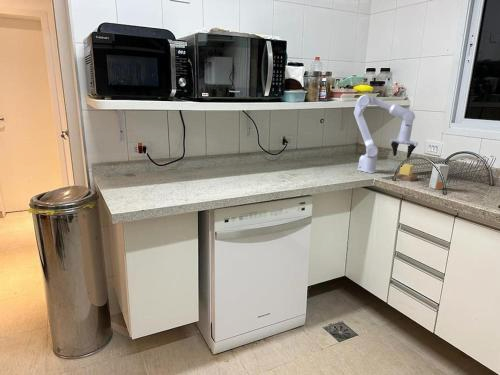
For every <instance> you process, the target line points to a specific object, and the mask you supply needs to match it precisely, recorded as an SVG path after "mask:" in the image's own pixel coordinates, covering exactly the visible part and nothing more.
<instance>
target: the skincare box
mask: <svg viewBox="0 0 500 375" xmlns="http://www.w3.org/2000/svg"><path fill="white" fill-rule="evenodd" d="M434 164H435V165H436V166H437V167H438V169H439V170H440V171H441V172H442V174H443V177H444V179H445V182H446V183H447V179H448V175H449V171H450V165H448V164H445V163H434ZM428 184H429V185H428V187H429V188H431V189H433V190H443V189H442V180H441V177H440V174H439V172H438V171H437V170H436V168H435V167H434V166H432V172H431V175H430V179H429V183H428Z"/></svg>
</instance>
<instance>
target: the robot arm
mask: <svg viewBox="0 0 500 375" xmlns="http://www.w3.org/2000/svg"><path fill="white" fill-rule="evenodd" d="M368 105H370V106H378V107H380V108H382V109H385V110H387V111H388V112H389V113H388V114H390V115H392V116H394V117H397V118H399V119H401V120H402V121H401V125H400V130H399V136H398V139H397V138H390V140H389V141H390V146H391V148H392V154H393V156H394V157H396V156H397V154H398V153H397V152H398V148H399V145H400V144H401V145H407V153H406V159H410V157H411V154H412V153H413V151H414V150H415V149H416V147H417V146H418V145H419V142H418V141H417V142H416V141H411V137H412V136H411V135H412V130H413V123H414V120H415V118H416V115H415V113H414V111H412V110H410V109H409V108H407V107H403V106H401V104H399V103H397V104H396V103H395V104H390V103H388V102H385V101H383V100H382V99H380V98H377V97H375V96H369V95H367V94H363V95H361V96H359V97H358V99H357V100H356V103H355V106H354V110H353V116H354V117H355V121H356V123H357V126H358V129H359V131H360V134H361V136H362V139H363V142H364V145H365V150H366V152H365V154H361V156H359V160H358V166H357V169H356V170H357V171H360V172H365V173H369V174H374V173H378V172H379V171H378V170H376V168H377V165H378V164H377V163H378V153H379V148H378V146H377V145H376V144H375V143H374V140H373V138H372V135H371V131H370V130H369V126H368V124H367V121H366V120H365V116H364V114H363V113H364V111H365V110H366V108H367V107H368Z"/></svg>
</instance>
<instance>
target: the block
mask: <svg viewBox="0 0 500 375" xmlns="http://www.w3.org/2000/svg"><path fill="white" fill-rule="evenodd" d="M403 164H404V165H403V166H402V167H401V166H400V169H399V172H400V174H404V175H408V176H409V175H412V174H414V173H413V172H414V167H415V165H413V164H407V163H403Z"/></svg>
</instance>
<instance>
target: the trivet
mask: <svg viewBox="0 0 500 375" xmlns="http://www.w3.org/2000/svg"><path fill="white" fill-rule="evenodd" d="M395 173H396V172H395ZM395 173H393V176H394V175H395ZM418 176H419V174H416V173H413V174H412V175H409V176H408V175H404V174H400V171H399V172H398V174H397V178H396V179H398V180H401V181H402V180H403V181H408V182H412V181H416V180H418Z"/></svg>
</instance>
